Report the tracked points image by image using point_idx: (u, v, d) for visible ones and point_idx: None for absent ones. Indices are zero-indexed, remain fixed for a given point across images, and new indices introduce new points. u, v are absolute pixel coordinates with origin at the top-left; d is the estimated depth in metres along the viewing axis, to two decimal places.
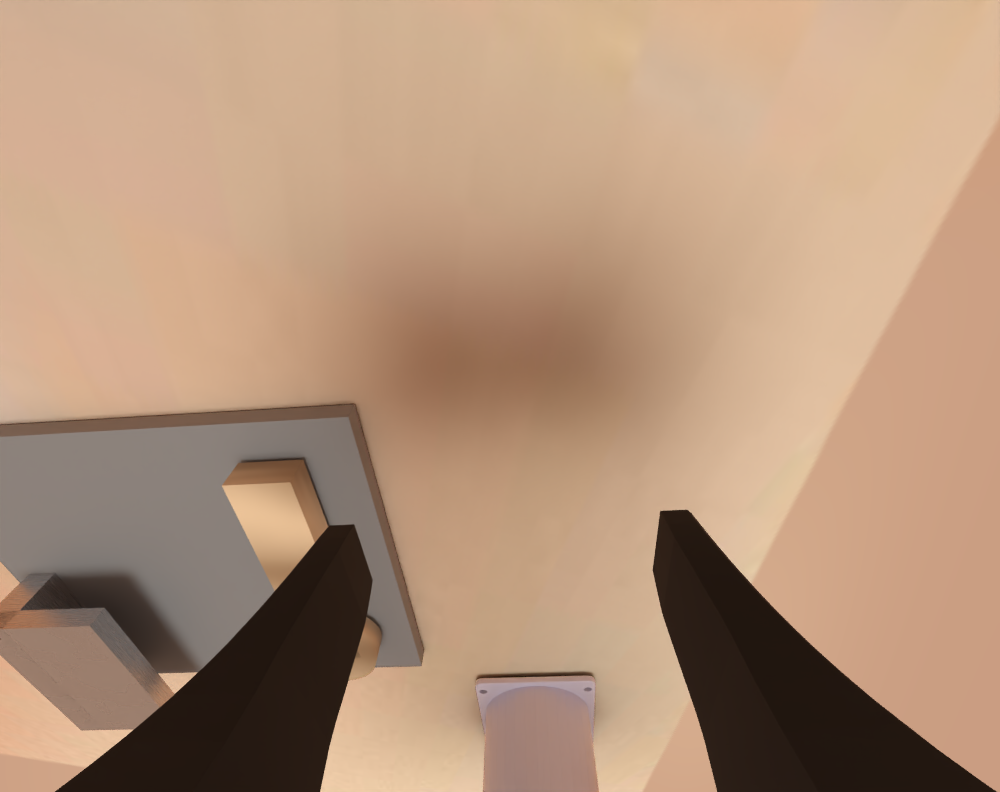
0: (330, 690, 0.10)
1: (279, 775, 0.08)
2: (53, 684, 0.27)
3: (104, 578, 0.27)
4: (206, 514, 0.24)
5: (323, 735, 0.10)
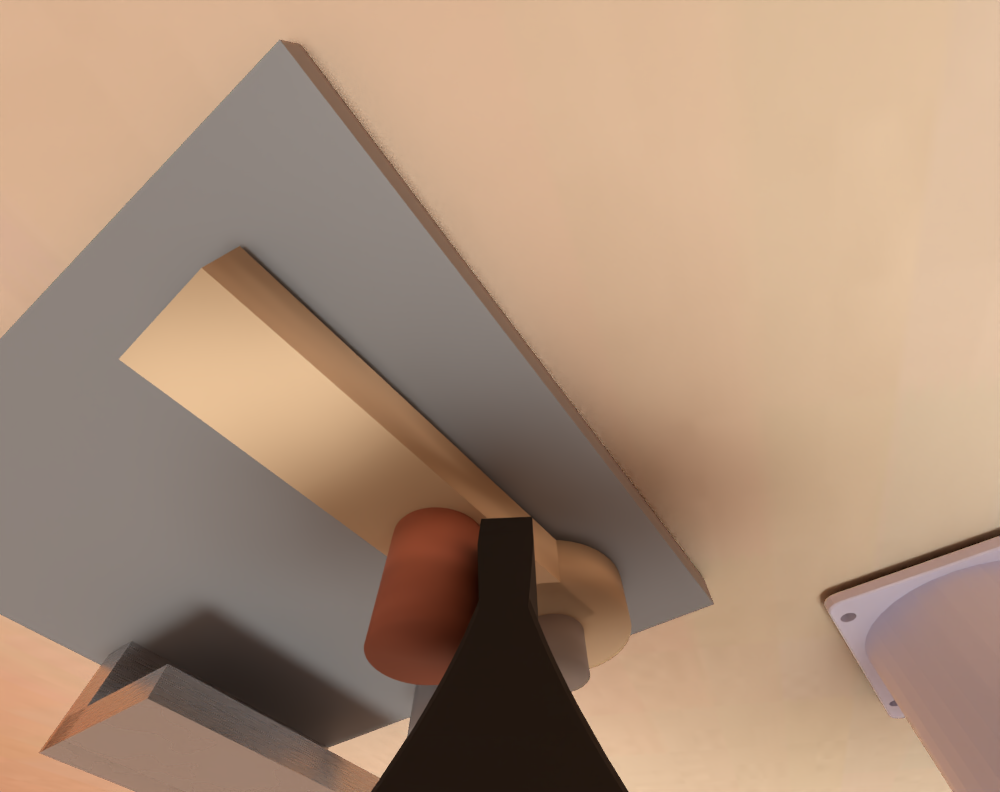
0: None
1: None
2: None
3: (186, 626, 0.18)
4: (220, 452, 0.13)
5: None
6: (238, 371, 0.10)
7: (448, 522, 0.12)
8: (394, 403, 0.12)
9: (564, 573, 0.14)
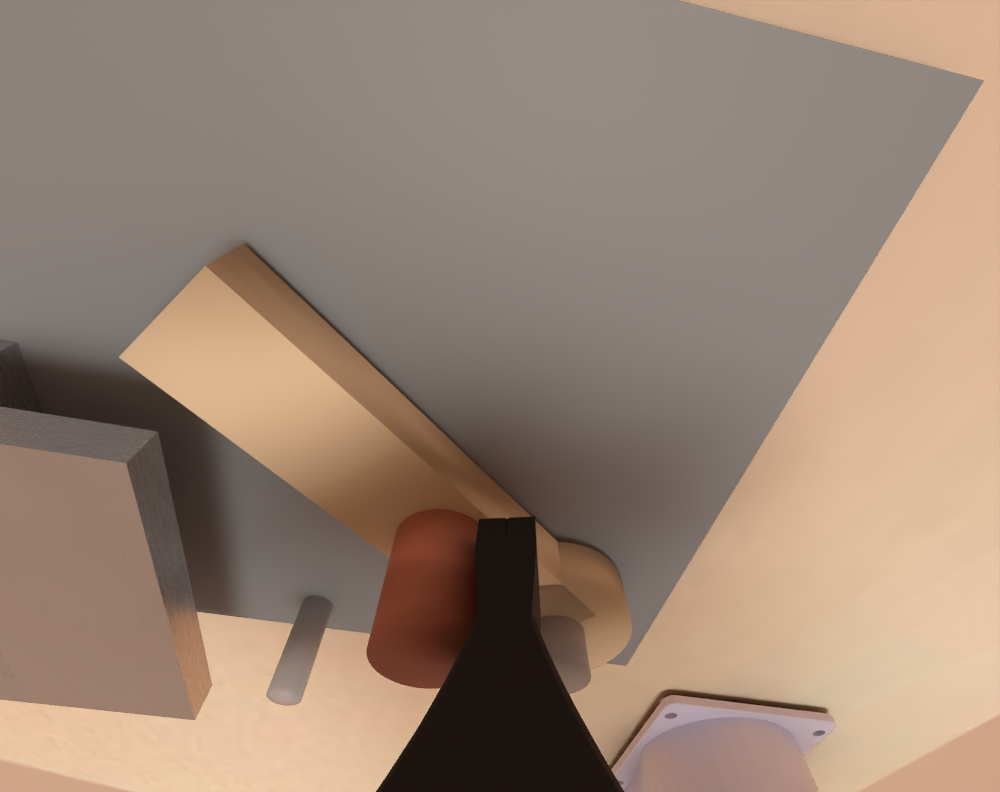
0: None
1: None
2: None
3: (131, 382, 0.12)
4: (463, 273, 0.11)
5: None
6: (241, 371, 0.10)
7: (451, 524, 0.12)
8: (398, 404, 0.12)
9: (566, 575, 0.14)
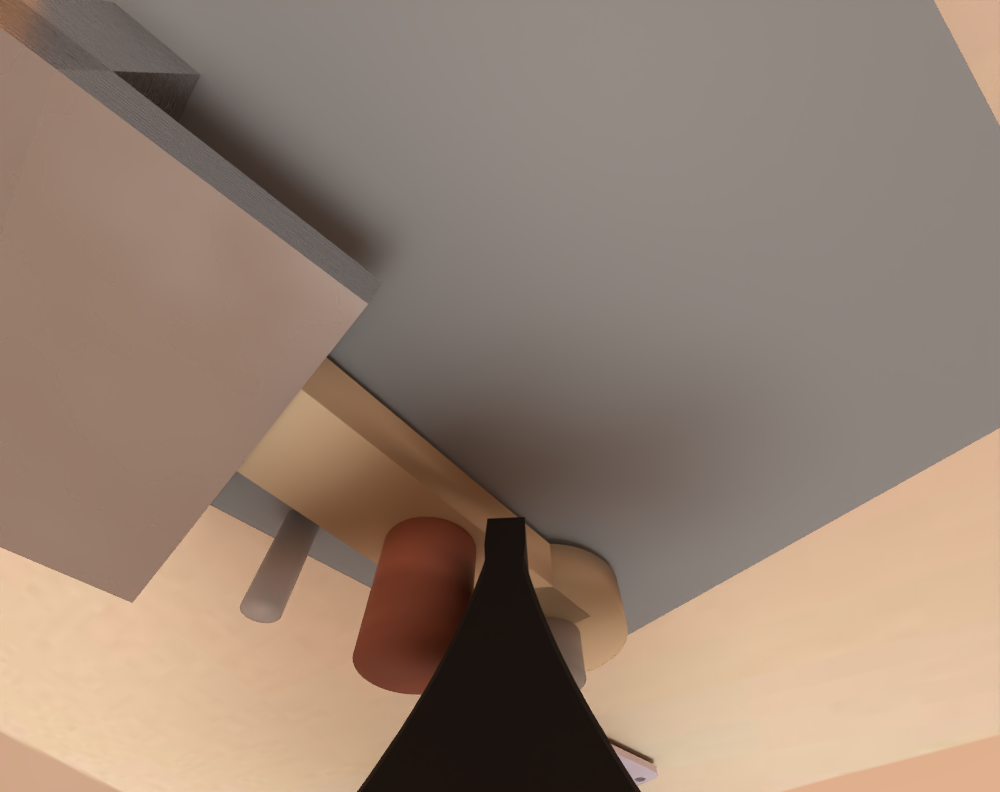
0: None
1: None
2: None
3: (305, 199, 0.10)
4: (716, 287, 0.11)
5: None
6: None
7: (436, 531, 0.12)
8: (378, 415, 0.12)
9: (557, 578, 0.14)
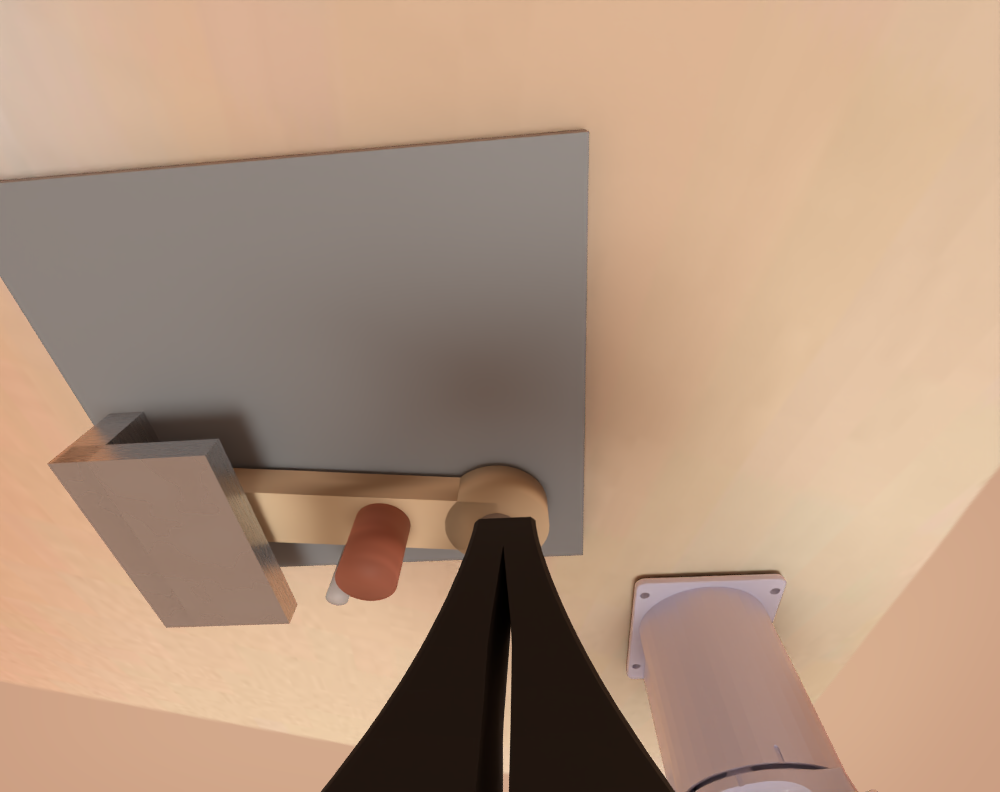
0: (502, 686, 0.10)
1: (493, 772, 0.08)
2: (141, 554, 0.21)
3: (205, 420, 0.21)
4: (357, 312, 0.18)
5: (501, 732, 0.09)
6: None
7: (363, 513, 0.21)
8: (309, 478, 0.22)
9: (459, 494, 0.21)
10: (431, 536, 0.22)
